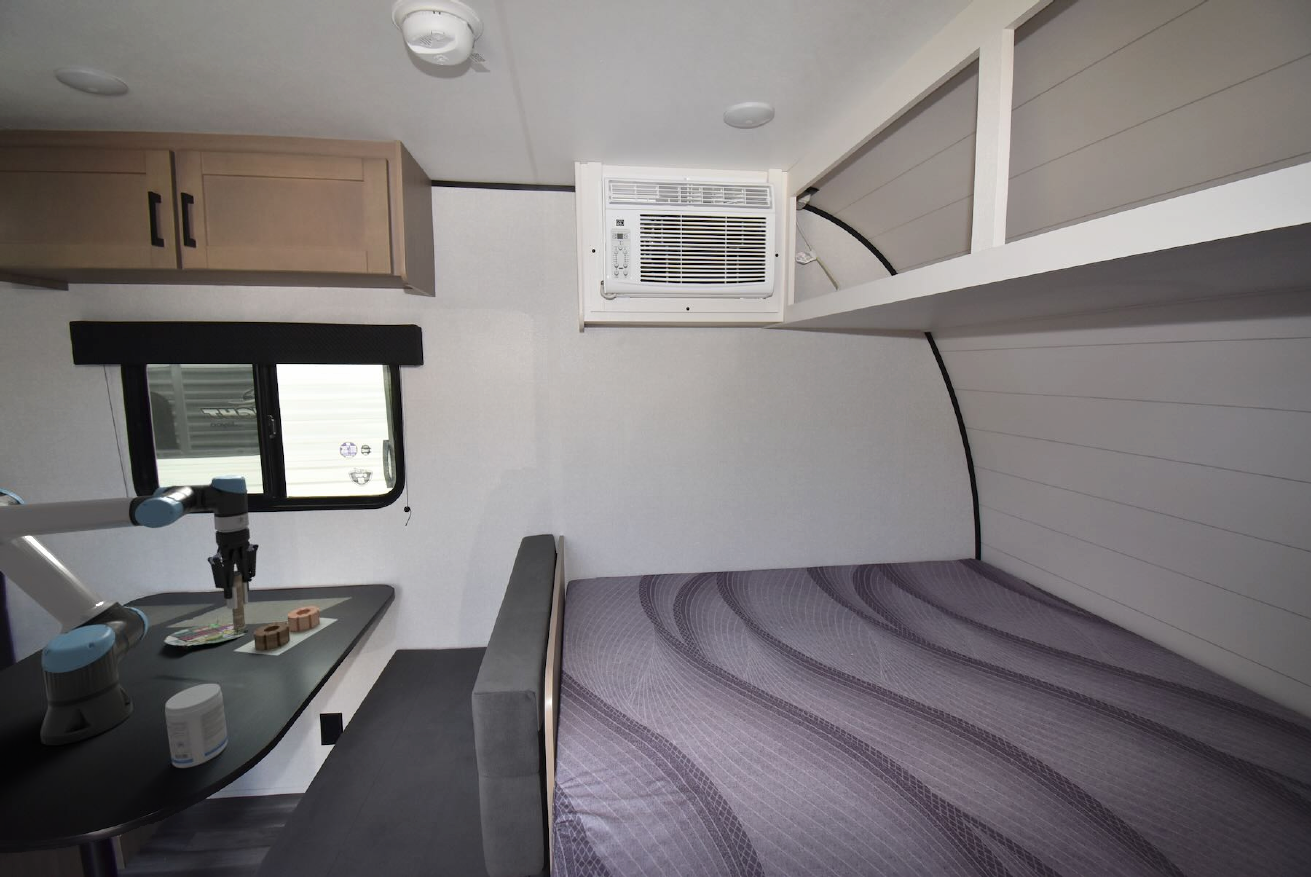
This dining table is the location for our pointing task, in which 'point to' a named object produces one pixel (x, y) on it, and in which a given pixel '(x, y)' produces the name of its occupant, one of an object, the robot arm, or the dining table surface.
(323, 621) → the board
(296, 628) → the terracotta bead
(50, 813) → the dining table surface
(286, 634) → the walnut bead
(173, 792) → the dining table surface
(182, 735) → the supplement tub
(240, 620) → the wooden dowel rod
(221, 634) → the city model
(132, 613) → the robot arm
